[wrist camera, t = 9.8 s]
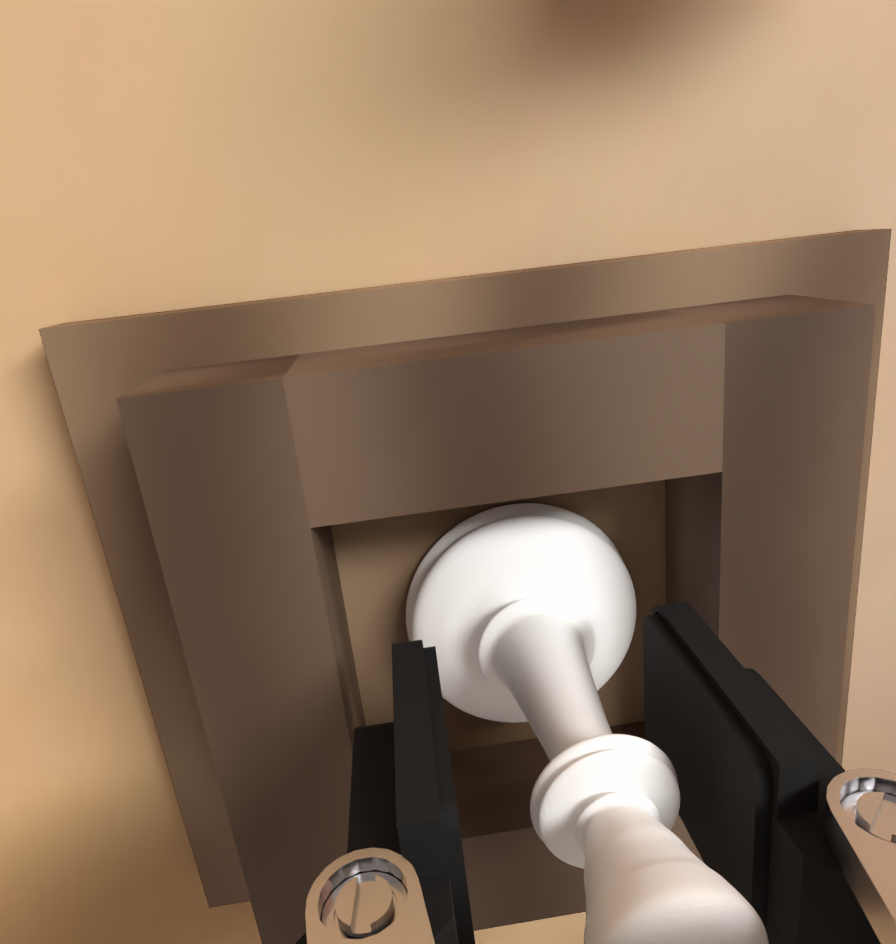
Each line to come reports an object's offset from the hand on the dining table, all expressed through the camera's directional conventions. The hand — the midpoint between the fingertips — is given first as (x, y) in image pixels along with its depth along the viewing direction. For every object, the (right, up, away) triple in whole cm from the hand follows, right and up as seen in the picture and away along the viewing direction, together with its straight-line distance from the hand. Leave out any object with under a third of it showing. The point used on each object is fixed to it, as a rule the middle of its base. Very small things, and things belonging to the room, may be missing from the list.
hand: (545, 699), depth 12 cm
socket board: (0, +1, +4) cm, 4 cm away
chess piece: (0, +1, +3) cm, 3 cm away
